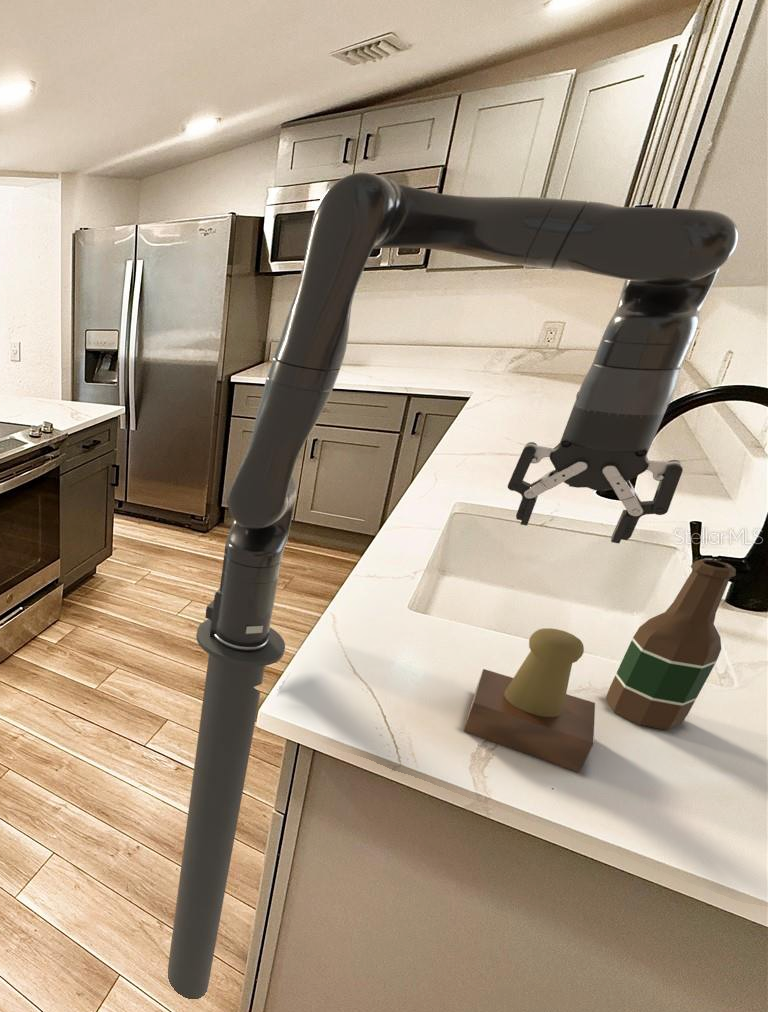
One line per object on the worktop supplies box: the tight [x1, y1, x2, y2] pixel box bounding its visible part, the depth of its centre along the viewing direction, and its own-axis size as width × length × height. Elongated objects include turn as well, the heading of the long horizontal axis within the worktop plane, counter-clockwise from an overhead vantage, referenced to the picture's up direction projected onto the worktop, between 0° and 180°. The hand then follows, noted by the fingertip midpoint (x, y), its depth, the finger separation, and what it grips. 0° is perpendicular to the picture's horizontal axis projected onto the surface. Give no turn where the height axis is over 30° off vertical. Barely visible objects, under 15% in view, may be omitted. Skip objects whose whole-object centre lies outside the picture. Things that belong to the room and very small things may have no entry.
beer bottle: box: [605, 558, 737, 731], centre depth 83 cm, size 8×8×24 cm
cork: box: [504, 627, 585, 717], centre depth 81 cm, size 6×6×11 cm
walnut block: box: [463, 668, 596, 774], centre depth 85 cm, size 12×10×5 cm
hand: (568, 532), depth 77 cm, fingers open, 8 cm apart
